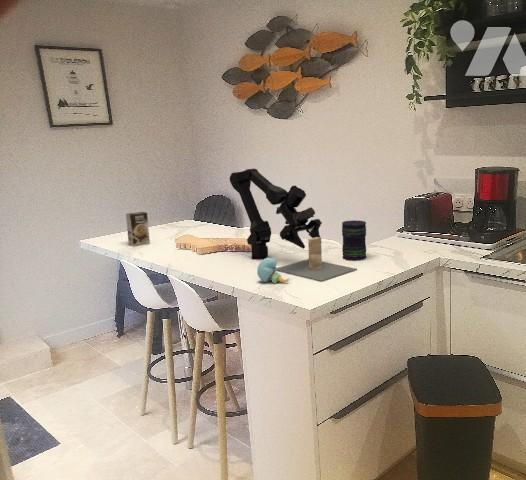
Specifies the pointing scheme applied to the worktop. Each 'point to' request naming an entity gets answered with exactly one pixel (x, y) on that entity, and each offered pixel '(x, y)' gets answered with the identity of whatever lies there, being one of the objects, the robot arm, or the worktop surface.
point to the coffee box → (137, 228)
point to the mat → (320, 274)
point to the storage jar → (354, 240)
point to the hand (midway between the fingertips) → (312, 245)
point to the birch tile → (315, 253)
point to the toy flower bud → (269, 271)
